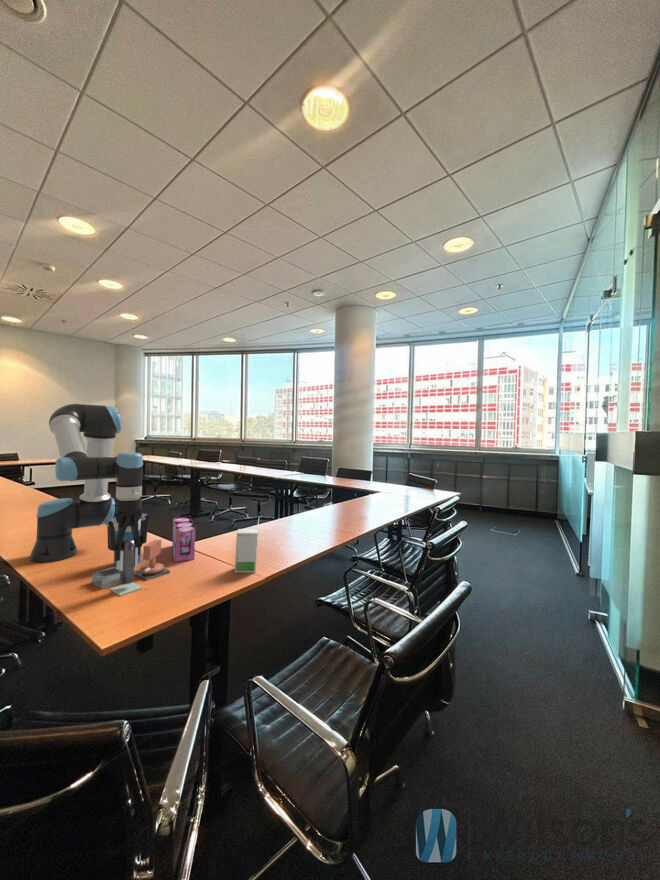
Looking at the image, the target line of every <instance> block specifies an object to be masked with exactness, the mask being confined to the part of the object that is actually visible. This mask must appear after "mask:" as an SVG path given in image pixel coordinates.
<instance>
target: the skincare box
mask: <svg viewBox="0 0 660 880" xmlns="http://www.w3.org/2000/svg"><path fill="white" fill-rule="evenodd" d="M258 539H259V529H256V528H255V529H252V528H238V529H237V532H236V540H235V542H236V544H235V559H234V573H235V574H239V573H241V574H243V573H247V574H248V573H249V574H250V573H251V574H252V573H253V574H254V573H256V572H257V561H258V559H257V558H258V545H259V543H258V542H259V540H258Z"/></svg>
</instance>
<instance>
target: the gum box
mask: <svg viewBox="0 0 660 880" xmlns="http://www.w3.org/2000/svg"><path fill="white" fill-rule="evenodd" d="M195 546H196V525H195V523H194V522H193V520H192V518H191V516H190V515H189V516H175V517H173V519H172V551H173V558H174V559H173V560H174V562H182V561H184V562H185V561H192V560H195V553H196V552H195V551H196V550H195V549H196V547H195Z"/></svg>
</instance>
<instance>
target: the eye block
mask: <svg viewBox="0 0 660 880" xmlns="http://www.w3.org/2000/svg"><path fill="white" fill-rule="evenodd" d="M91 583H92V584H93V585H95V586H97V587H98V588H99V589H101V590H104V589H106V588H109V587H113V586H116V585H119V584H120V571H119V570H118V569H117V566H111V567H108V568H105V569H102V570H97V571H93V572H91ZM120 585H121V584H120Z"/></svg>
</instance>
